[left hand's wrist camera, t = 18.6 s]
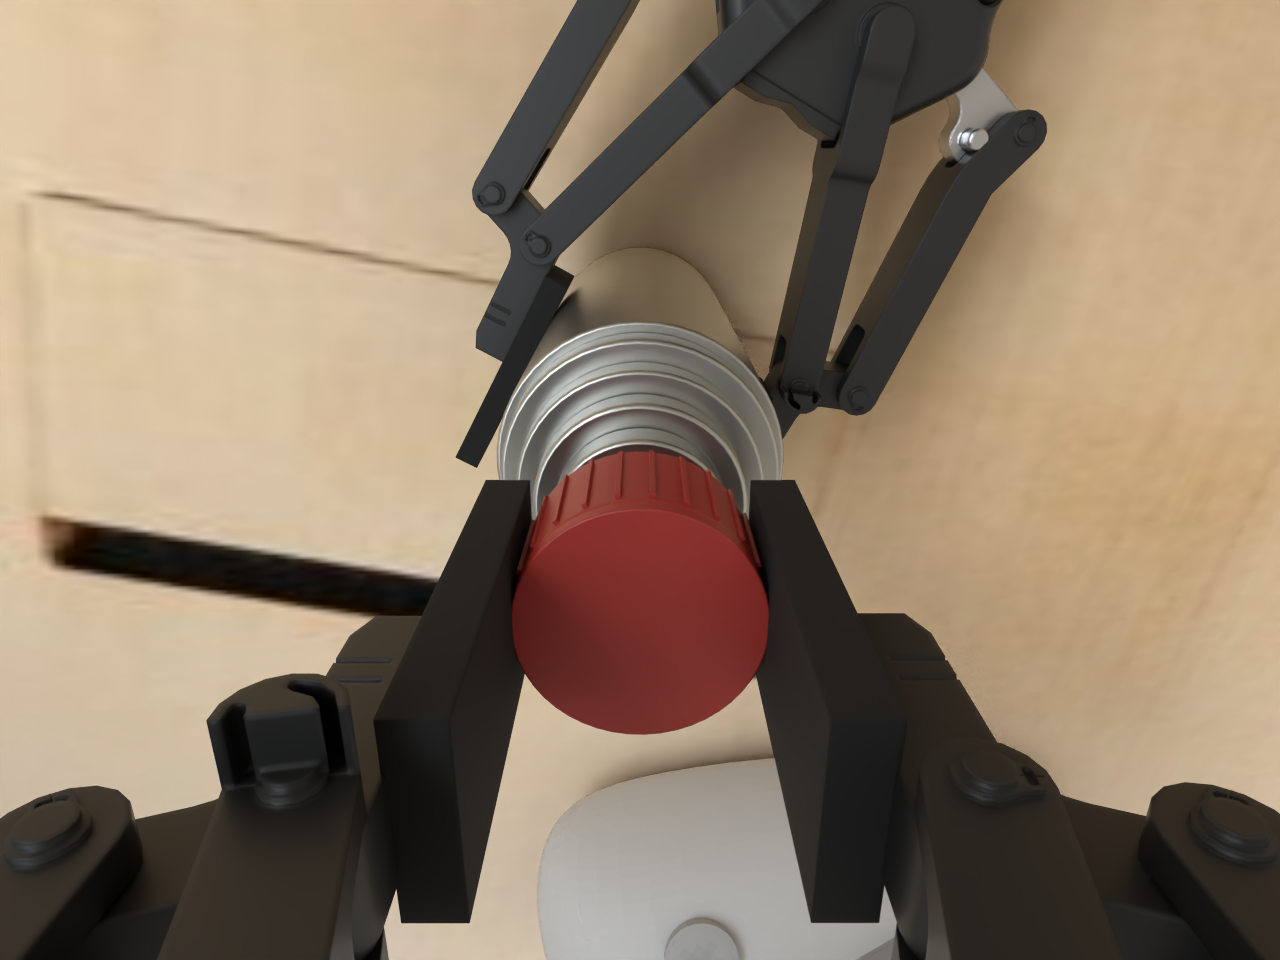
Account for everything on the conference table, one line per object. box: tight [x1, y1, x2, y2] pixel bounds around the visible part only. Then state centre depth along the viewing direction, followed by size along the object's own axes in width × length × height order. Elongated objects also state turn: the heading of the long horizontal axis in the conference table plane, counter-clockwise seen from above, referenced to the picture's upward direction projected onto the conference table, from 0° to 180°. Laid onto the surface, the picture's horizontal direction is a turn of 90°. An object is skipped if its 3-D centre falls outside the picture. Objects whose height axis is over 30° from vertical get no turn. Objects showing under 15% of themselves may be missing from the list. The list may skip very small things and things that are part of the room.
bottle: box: [497, 247, 783, 520], centre depth 23 cm, size 6×6×21 cm
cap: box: [512, 450, 769, 735], centre depth 14 cm, size 4×4×2 cm
